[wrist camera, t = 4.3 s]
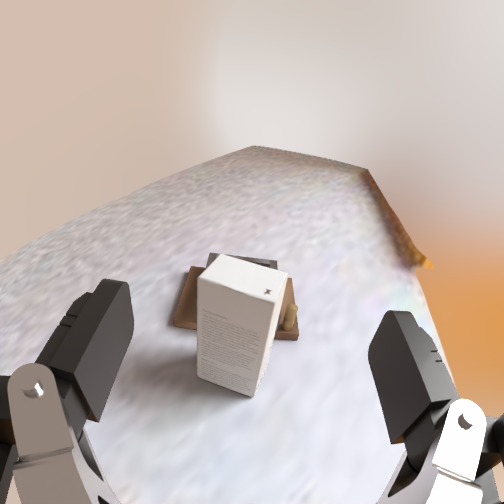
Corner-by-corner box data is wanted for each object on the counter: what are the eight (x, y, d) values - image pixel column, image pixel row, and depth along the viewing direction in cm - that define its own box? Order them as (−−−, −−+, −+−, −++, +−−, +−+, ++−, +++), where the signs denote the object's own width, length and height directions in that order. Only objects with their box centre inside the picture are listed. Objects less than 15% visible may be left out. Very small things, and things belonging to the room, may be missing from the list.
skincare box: (267, 368, 30) (291, 272, 24) (253, 399, 27) (276, 303, 21) (212, 348, 32) (220, 251, 26) (194, 377, 28) (195, 277, 22)
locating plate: (173, 326, 34) (172, 298, 32) (190, 271, 43) (191, 247, 41) (296, 340, 34) (305, 314, 32) (290, 283, 44) (295, 259, 42)
